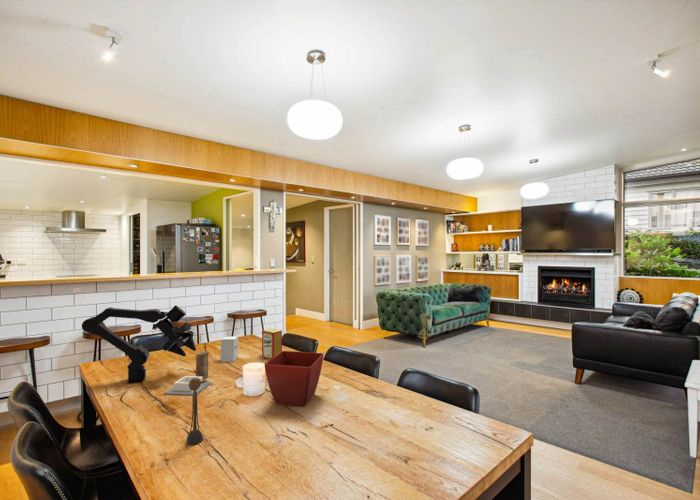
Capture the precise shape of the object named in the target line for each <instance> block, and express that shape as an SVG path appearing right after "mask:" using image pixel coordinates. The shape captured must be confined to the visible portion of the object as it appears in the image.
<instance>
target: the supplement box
mask: <svg viewBox="0 0 700 500" xmlns="http://www.w3.org/2000/svg"><path fill="white" fill-rule="evenodd" d="M237 359H239V336H224V337H223V338H221V339H220V363H234V362H235V361H236V360H237Z"/></svg>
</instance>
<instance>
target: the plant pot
mask: <svg viewBox="0 0 700 500" xmlns="http://www.w3.org/2000/svg"><path fill="white" fill-rule="evenodd" d="M323 362H324V353H322V352H307V351H292V350H291V351H290V350H282V352H280V353H279V354H277V355H276V356H275V357H273V358H272V359H271V360H268V361H266V362H264V371H265V375H266V380H267V383H268V387H269V390H270V393H271V395H272V399H273V401H274V404H276V405H282V406H283V405H284V406H291V407H292V406H293V407H307V405H308V404H309V402H310V401H311V400H312V398H313V397H314V395H315V393H316V391H317V388H318V384H319V380H320V376H321V372H322V367H323Z"/></svg>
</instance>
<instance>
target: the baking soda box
mask: <svg viewBox="0 0 700 500" xmlns="http://www.w3.org/2000/svg"><path fill="white" fill-rule="evenodd" d="M282 351H283V330H279V329H276V328H268V329H262V330H261V358H262V359H265V358H266V360H268V359H269V360H271V359H272V358H273V357H275V356H276V355H277V354H279V353H280V352H282ZM269 360H268V361H269Z"/></svg>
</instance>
